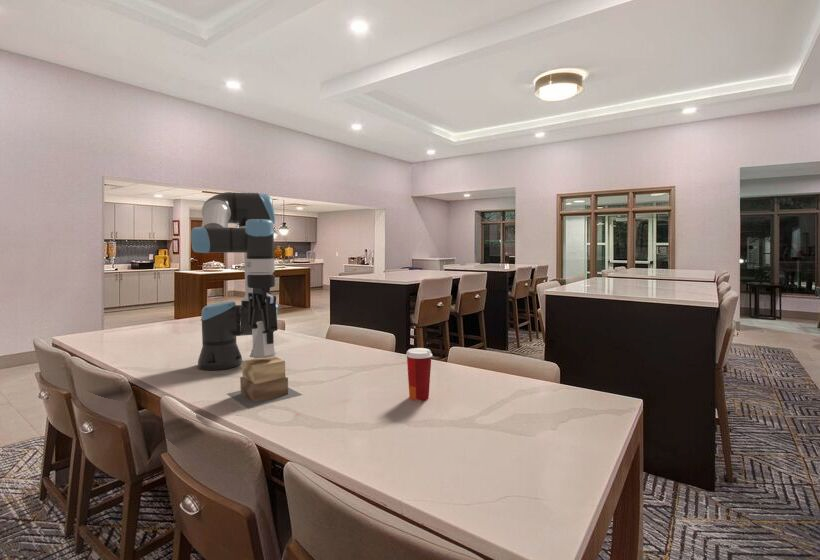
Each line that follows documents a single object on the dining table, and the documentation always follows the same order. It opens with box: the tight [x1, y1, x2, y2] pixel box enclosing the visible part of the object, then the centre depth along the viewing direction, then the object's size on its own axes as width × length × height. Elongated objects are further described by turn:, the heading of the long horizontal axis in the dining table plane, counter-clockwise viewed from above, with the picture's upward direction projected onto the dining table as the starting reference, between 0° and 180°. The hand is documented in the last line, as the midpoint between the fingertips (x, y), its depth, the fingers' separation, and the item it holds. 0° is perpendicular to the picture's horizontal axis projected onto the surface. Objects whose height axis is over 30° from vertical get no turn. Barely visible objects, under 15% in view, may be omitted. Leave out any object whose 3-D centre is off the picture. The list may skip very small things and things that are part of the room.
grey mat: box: [226, 386, 303, 409], centre depth 127 cm, size 16×16×1 cm
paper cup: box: [405, 347, 433, 402], centre depth 126 cm, size 8×8×14 cm
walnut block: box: [240, 376, 289, 403], centre depth 127 cm, size 10×10×5 cm
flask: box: [249, 321, 277, 359], centre depth 126 cm, size 7×7×10 cm
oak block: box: [241, 355, 286, 384], centre depth 126 cm, size 9×9×5 cm
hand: (263, 352), depth 126 cm, fingers closed on flask, 7 cm apart
